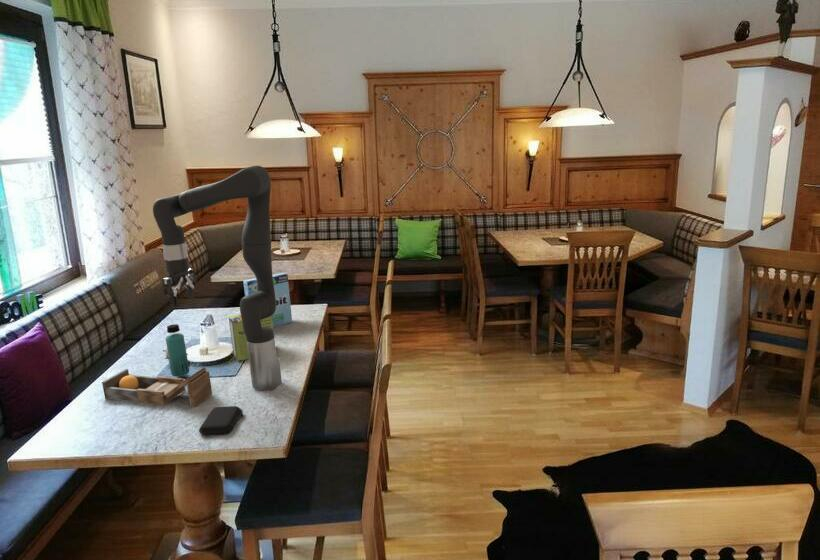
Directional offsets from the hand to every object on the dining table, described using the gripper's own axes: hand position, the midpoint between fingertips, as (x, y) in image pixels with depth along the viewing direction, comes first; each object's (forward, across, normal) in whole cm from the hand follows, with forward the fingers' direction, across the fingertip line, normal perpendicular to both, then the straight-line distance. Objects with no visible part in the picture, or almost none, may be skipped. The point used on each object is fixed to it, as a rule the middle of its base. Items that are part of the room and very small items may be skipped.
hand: (183, 302), depth 199 cm
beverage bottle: (+30, -4, -9) cm, 32 cm away
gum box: (+30, -61, -4) cm, 68 cm away
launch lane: (+30, +11, -6) cm, 33 cm away
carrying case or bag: (+31, +23, +27) cm, 47 cm away
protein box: (+30, -30, +6) cm, 43 cm away
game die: (+30, -16, -20) cm, 40 cm away
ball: (+27, +11, -18) cm, 34 cm away
